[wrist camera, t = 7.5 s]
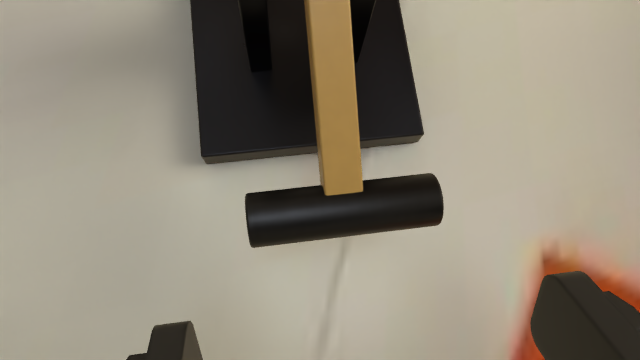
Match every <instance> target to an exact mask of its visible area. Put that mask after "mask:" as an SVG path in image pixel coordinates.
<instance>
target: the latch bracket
mask: <svg viewBox="0 0 640 360" xmlns="http://www.w3.org/2000/svg"><path fill="white" fill-rule="evenodd" d="M190 4H191V18H192V33H193V47H194V61H195V75H196V89H197V104H198V118H199V132H200V146H201V156H202V158H203V160H204V161H205V163H206V164H211V163H221V162H231V161H240V160H250V159H259V158H269V157H279V156H288V155H298V154H308V153H317V152H318V149H317V138H316V127H315V116H314V105H313V94H312V83H311V71H310V60H309V49H308V38H307V27H306V16H305V5H304V0H190ZM350 10H351V24H352V38H353V53H354V67H355V81H356V95H357V109H358V123H359V137H360V148H365V147H375V146H384V145H394V144H404V143H413V142H418V140H419V139H420V138H421V137H422V136H423V135H424V131H423V126H422V120H421V115H420V110H419V105H418V99H417V94H416V89H415V83H414V78H413V73H412V67H411V62H410V57H409V52H408V46H407V41H406V36H405V30H404V25H403V20H402V14H401V9H400V4H399V0H350Z"/></svg>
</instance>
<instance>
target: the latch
mask: <svg viewBox="0 0 640 360" xmlns="http://www.w3.org/2000/svg"><path fill="white" fill-rule="evenodd" d="M304 5H305V16H306V27H307V38H308V49H309V60H310V71H311V83H312V94H313V105H314V116H315V127H316V138H317V149H318V160H319V171H320V182H321V185H319V186H310V187H301V188H292V189H283V190H273V191H264V192H255V193H248V194H246V196H245V210H246V221H247V230H248V236H249V242H250V245H251V247H253V248H255V247H264V246H272V245H280V244H288V243H297V242H305V241H313V240H321V239H330V238H338V237H346V236H354V235H362V234H371V233H379V232H387V231H395V230H404V229H412V228H420V227H428V226H437V225H439V224H440V223H441V221H442V218H443V196H442V191H441V187H440V184H439V182H438V180H437V178H436V177H435V175H433V174H431V173H427V174H418V175H409V176H400V177H391V178H382V179H373V180H364V181H363V180H362V166H361V152H360V137H359V123H358V109H357V95H356V81H355V67H354V53H353V38H352V24H351V10H350V0H304Z"/></svg>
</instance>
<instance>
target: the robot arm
mask: <svg viewBox="0 0 640 360" xmlns="http://www.w3.org/2000/svg"><path fill="white" fill-rule="evenodd" d="M531 332H532V336H533V339H534V342H535V344H536V346H537V348H538V349H539V351H540V352H541V354H542V355H543V357H544V358H545V360H640V313H639V312H638V311H637V310H636V309H635V308H634V307H633V306H631V305H630V304H628V303H627V302H625V301H624V300H622V299H620V298H619V297H617V296H616V295H614V294H613V293H611V292H610V291H606V292H602V290H601V289H600V288H599V287H598V286H597V285H596V284H595V283H594V282H593V281H592V279H591V278H590V277H589V276H588V275H587V274H585V273H583V272H581V271H574V272H567V273H559V274H552V275H547V276H545V277H544V278H543V280H542V283H541V287H540V290H539V294H538V297H537V300H536V304H535V307H534V311H533V314H532V318H531ZM126 360H203V358H202V355H201V351H200V348H199V344H198V341H197V337H196V334H195V330H194V327H193V324H192V322H191V321H185V322H178V323H170V324H163V325H156V326H154V328H153V330H152V333H151V337H150V342H149V346H148V351H147V353H143V354H135V355H129V357H128V358H127V359H126Z"/></svg>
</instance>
